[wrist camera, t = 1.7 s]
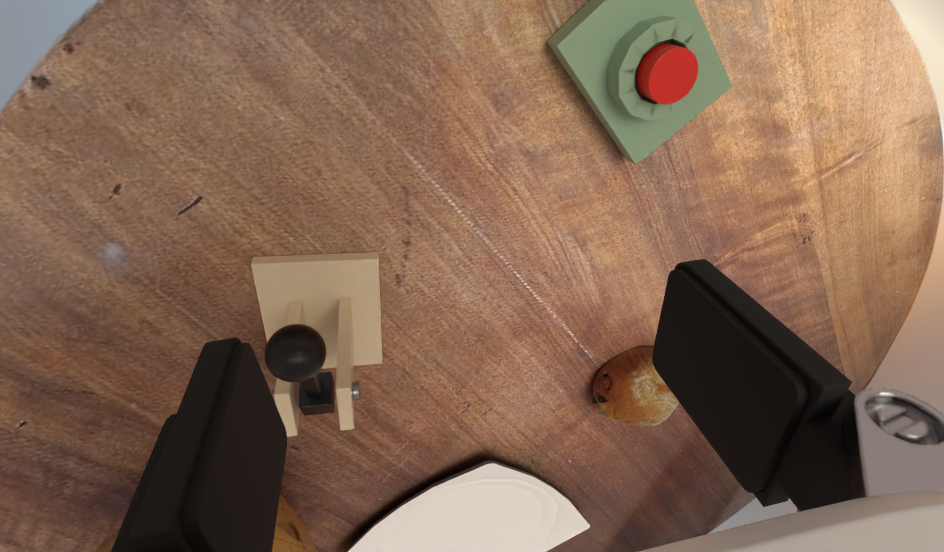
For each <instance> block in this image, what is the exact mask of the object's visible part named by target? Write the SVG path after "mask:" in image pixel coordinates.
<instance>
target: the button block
mask: <svg viewBox="0 0 944 552" xmlns="http://www.w3.org/2000/svg"><path fill="white" fill-rule="evenodd" d="M547 44H548V45H549V46H550V48H551V49H552V51H553V52H554V54H555V55H556V57H557V58H558V60H559V61H560V63H561V64H562V66H563V67H564V69H565V70H566V72H567V73H568V75H569V76H570V77H571V79H572V80H573V82H574V83H575V85H576V86H577V88H578V89H579V91H580V92H581V94H582V95H583V97H584V98H585V100H586V101H587V103H588V104H589V106H590V107H591V108H592V110H593V111H594V113H595V114H596V116H597V117H598V119H599V120H600V122H601V123H602V125H603V126H604V128H605V129H606V131H607V132H608V134H609V135H610V137H611V138H612V139H613V141H614V142H615V144H616V145H617V147H618V148H619V150H620V151H621V153H622V154H623V156H624V157H626V158H627V159H628V160H630V161H631V162H632V163H633V164H635V165H637V164H638V163H639V162H641V161H642V160H643V159H644V158H646V157H647V156H648V155H649V154H650V153H652V152H653V151H654V150H655V149H656V148H658V147H659V146H660V145H661V144H663V143H664V142H665V141H666V140H667V139H669V138H670V137H671V136H672V135H674V134H675V133H676V132H677V131H678V130H680V129H681V128H682V127H683V126H685V125H686V124H687V123H688V122H689V121H691V120H692V119H693V118H694V117H695V116H697V115H698V114H699V113H700V112H702V111H703V110H704V109H705V108H706V107H708V106H709V105H710V104H711V103H713V102H714V101H715V100H716V99H717V98H719V97H720V96H721V95H722V94H724V93H725V92H726V91H727V90H728V89H730V88H731V87H732V85H731V83H730V80H729V78H728V76H727V74H726V71H725V69H724V67H723V65H722V63H721V60H720V58H719V56H718V54H717V51H716V49H715V47H714V45H713V42H712V40H711V38H710V36H709V34H708V31H707V29H706V27H705V25H704V22H703V20H702V18H701V16H700V14H699V11H698V9H697V7H696V5H695V2H694V0H589V1H588V2H587V3H586V4H585V5H584V6H583V7H582V8H581V9H580V10H579V11H578V12H577V13H576V14H574V15H573V16H572V17H571V18H570V19H569V20H568V21H567V22H566V23H565V24H564V25H563V26H562V27H561V28H560V29H559V30H558V31H557V32H555V33H554V34H553V35H552V36H551V37H550V38H549V39H548V40H547ZM661 44H673V45H676V46H680V47H683V48H686V49H689V50H690V51H692V52H693V53H694V55H695V56H696V58H697V61H698V75H697V79H696V81H695V83H694V85H693V87H692V89H691V90H690V91H689V93H688V94H687V95H686V96H685V97H683V98H682V99H681V100H679V101H677V102H675V103H672V104H660V103H658V102H656V101H654V100H652V99H650V98H648V97H646V96H644V95H643V94H642V93H641V92H640V91H639V89H638V86H637V81H636V76H637V70H638V67H639V65H640V63H641V61H642V59H643V58H644V56H645V55H646V54H647V53H648V52H649V51H650V50H651V49H653V48H654V47H656V46H658V45H661Z"/></svg>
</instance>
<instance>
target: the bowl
mask: <svg viewBox="0 0 944 552" xmlns="http://www.w3.org/2000/svg"><path fill="white" fill-rule="evenodd" d="M119 531H120V529H119V530H118V531H117V532H115V533H114V534H113V535H112V536H111V537H110V538H109V539H107V540H106V541H104V542H103V543H102V544H101V545H100V546H99V548H98V549H97V551H96V552H111V550H112V547H113V545H114V543H115V540H116V538H117V535H118V533H119ZM272 552H318V551H317V549H316V547H315V545H314V542H313V540H312V538H311V537H310V535H309V533H308V531H307V530H306V528H305V526H304V525H303V523H302V521H301V520H300V518H299V517H298V515H297V514H296V513H295V512H294V511H293V509H292V508H291V507H290V505H289V504H288V503H287V502H286V500H285V499H284V498H283V497H282V495H281V494H280V498H279V505H278V512H277V519H276V527H275V534H274V541H273V548H272Z"/></svg>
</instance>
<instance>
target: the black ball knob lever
mask: <svg viewBox="0 0 944 552" xmlns="http://www.w3.org/2000/svg"><path fill="white" fill-rule="evenodd" d="M325 359H326V345H325V342H324V339H323V338H322V336H321V335H320V333H319V332H317V331H316V330H315V329H314V328H312V327H310V326H307V325H304V324H291V325H287V326H284V327H282V328H280V329H279V330H277V331H276V332H275V333H274V334H273V335H272V336H271V337H270V339H269V340H268V342H267V345H266V348H265V362H266V365H267V367H268V369H269V370H270V372H271V373H272V374H273V375H274V376H275V377H277V378H278V379H280V380H282V381H285V382H291V383H297V382H298V383H299V409H300V410H301V411H302V413H303V414H304V415H314V414H324V413H333V412H335V397H334V380H333V377H332V374H331V372H324V373H319V371H320V369H321V368H322V366H323V364H324V362H325Z"/></svg>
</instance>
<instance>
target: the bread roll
mask: <svg viewBox="0 0 944 552" xmlns="http://www.w3.org/2000/svg"><path fill="white" fill-rule="evenodd" d="M653 349H654V347H646V346H644V347H636V348H632V349H630V350H628V351H626V352H624V353H621V354H620V355H618V356H616V357H614V358H613V359H611V360H610V361H609V362H608V363H606V364H605V365H604V366H603V367H602V368H601V369H600V371H599V372H598V374H597V376H596V378H595V381H594V384H593V385H594V387H593V395H594V396H593V399H592V403H596V404H598V407H599V410H600V411H599V414H600V415H602V416H606V418H607V419H611V420H615V421H619V422H620V423H626V424H629V425H637V426H655V425H658V424H660V423H662V422H663V421H665V420H666V419H667V418H668V417H669V416H670V415H671V414H672V412H673V411H674V410H675V408H676V406H677V405H678V402H679V401H678V400H677V398H676V397H675V396H674V394H673V393H672V392H671V390H670V389H669V388H668V386H667V385H666V384H665V382H664V381H663V380H662V378H661V377H660V375H659V374H658V373H657V371H656V370H655V368H654V365H653V362H652V354H653Z"/></svg>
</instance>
